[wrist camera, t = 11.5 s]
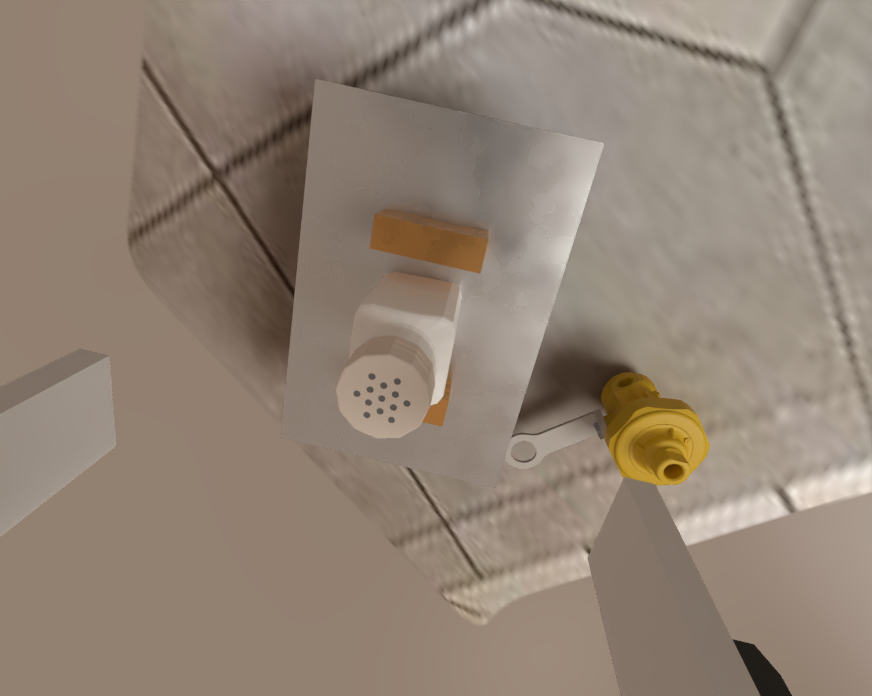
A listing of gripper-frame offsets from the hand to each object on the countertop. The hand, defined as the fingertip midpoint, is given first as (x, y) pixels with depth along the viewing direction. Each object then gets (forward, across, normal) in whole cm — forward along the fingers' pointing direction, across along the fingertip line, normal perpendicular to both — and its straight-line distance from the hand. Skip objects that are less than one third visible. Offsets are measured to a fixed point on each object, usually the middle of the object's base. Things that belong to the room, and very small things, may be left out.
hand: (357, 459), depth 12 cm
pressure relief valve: (+22, +12, -8) cm, 26 cm away
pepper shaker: (+13, 0, 0) cm, 13 cm away
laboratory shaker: (+22, 0, -1) cm, 22 cm away
